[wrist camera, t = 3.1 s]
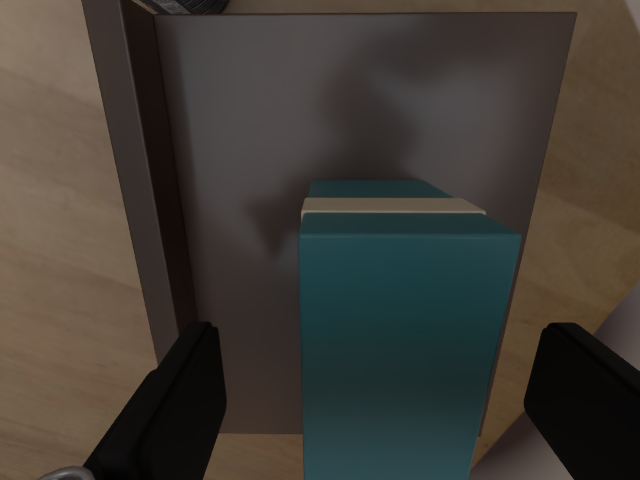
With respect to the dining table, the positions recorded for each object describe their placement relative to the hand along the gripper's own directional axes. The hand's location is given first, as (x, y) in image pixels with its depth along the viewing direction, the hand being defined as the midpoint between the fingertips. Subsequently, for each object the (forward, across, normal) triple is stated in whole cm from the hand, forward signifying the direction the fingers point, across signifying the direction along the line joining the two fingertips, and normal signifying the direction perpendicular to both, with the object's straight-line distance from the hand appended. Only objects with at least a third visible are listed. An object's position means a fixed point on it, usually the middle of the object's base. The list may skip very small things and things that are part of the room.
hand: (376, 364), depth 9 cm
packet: (+6, 0, 0) cm, 6 cm away
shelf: (+16, +1, 0) cm, 16 cm away
